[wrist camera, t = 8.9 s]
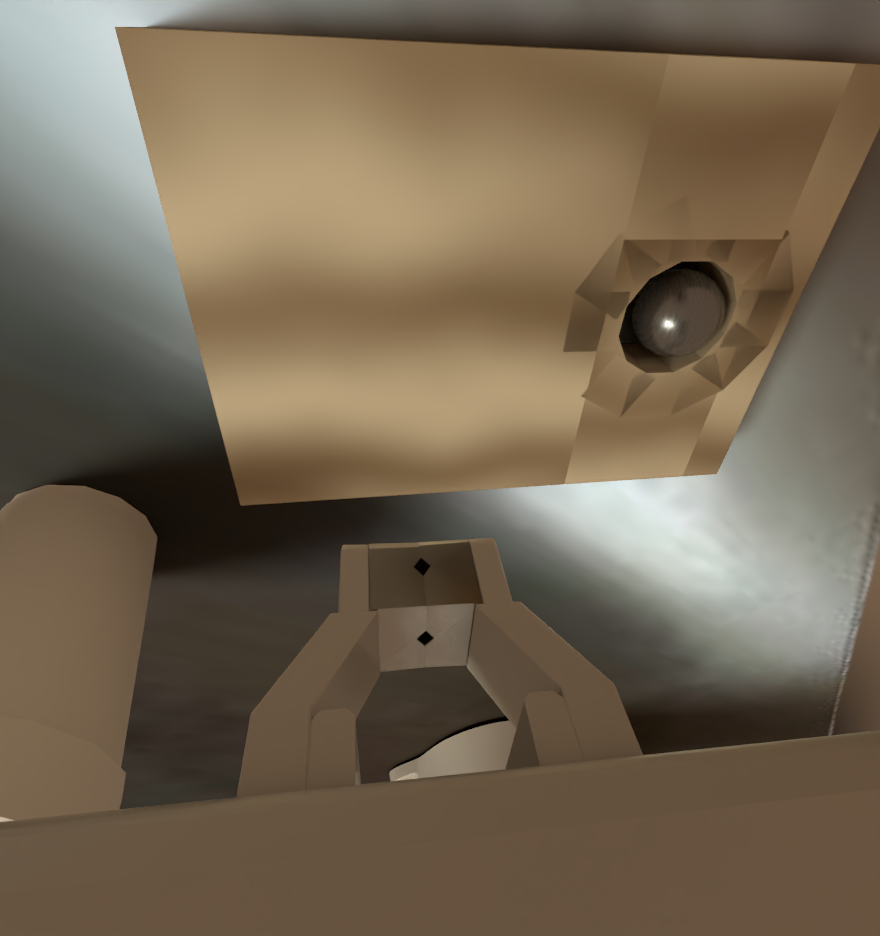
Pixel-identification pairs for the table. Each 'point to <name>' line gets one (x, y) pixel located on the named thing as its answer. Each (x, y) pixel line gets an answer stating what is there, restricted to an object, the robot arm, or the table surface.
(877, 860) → the robot arm
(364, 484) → the wooden board
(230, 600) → the table surface
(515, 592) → the table surface
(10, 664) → the foam cup
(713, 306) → the ball
